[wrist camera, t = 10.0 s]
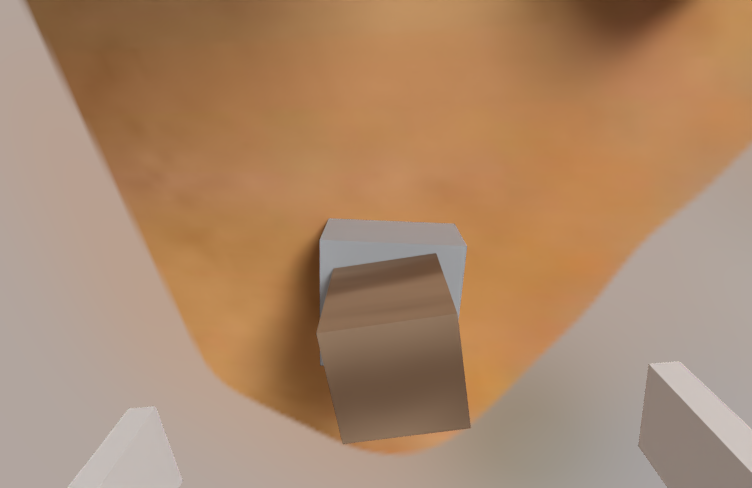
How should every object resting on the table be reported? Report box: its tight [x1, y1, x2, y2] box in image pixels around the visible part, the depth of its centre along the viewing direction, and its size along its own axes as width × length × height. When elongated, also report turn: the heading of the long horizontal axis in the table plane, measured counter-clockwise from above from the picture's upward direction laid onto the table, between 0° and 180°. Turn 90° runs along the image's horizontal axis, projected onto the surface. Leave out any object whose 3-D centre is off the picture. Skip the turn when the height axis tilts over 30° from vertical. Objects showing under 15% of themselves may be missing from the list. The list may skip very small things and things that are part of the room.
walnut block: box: [316, 253, 471, 444], centre depth 19 cm, size 5×5×6 cm
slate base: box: [320, 219, 467, 366], centre depth 23 cm, size 7×7×4 cm
